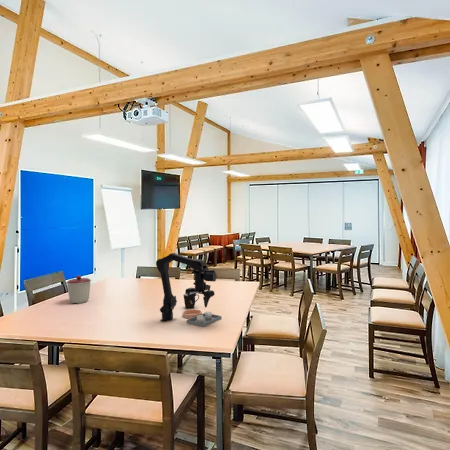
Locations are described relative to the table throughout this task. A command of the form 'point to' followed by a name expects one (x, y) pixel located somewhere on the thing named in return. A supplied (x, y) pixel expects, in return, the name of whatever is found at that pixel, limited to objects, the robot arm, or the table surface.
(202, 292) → the robot arm
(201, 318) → the pebble light
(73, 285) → the canister
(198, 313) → the terracotta dish
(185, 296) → the coffee mug
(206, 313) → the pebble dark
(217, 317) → the parts tray
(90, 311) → the table surface
